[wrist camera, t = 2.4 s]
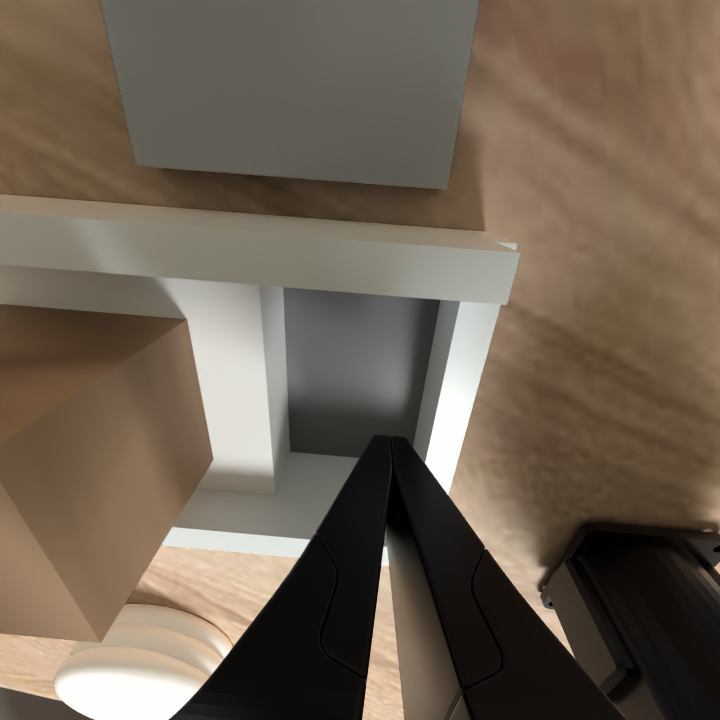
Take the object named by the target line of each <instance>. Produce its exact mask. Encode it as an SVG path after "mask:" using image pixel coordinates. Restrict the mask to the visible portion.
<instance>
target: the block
mask: <svg viewBox="0 0 720 720" xmlns="http://www.w3.org/2000/svg"><path fill="white" fill-rule="evenodd" d="M213 460H214V459H213V453H212V448H211V443H210V437H209V432H208V427H207V422H206V416H205V411H204V406H203V400H202V395H201V390H200V385H199V379H198V374H197V369H196V363H195V358H194V353H193V348H192V342H191V337H190V332H189V326H188V321H187V319H178V318H166V317H154V316H142V315H129V314H117V313H105V312H93V311H81V310H69V309H56V308H44V307H32V306H20V305H8V304H0V633H2V634H12V635H23V636H33V637H44V638H54V639H64V640H75V641H85V642H95V643H101V642H102V640H103V639H104V637H105V636H106V634H107V632H108V631H109V629H110V627H111V626H112V624H113V623H114V621H115V619H116V618H117V616H118V614H119V613H120V611H121V610H122V608H123V606H124V605H125V603H126V601H127V600H128V598H129V597H130V595H131V593H132V592H133V590H134V588H135V587H136V585H137V584H138V582H139V580H140V579H141V577H142V575H143V574H144V572H145V570H146V569H147V567H148V566H149V564H150V562H151V561H152V559H153V557H154V556H155V554H156V553H157V551H158V549H159V548H160V546H161V544H162V543H163V541H164V540H165V538H166V536H167V535H168V533H169V531H170V530H171V528H172V527H173V525H174V523H175V522H176V520H177V518H178V517H179V515H180V514H181V512H182V510H183V509H184V507H185V505H186V504H187V502H188V501H189V499H190V497H191V496H192V494H193V492H194V491H195V489H196V488H197V486H198V484H199V483H200V481H201V479H202V478H203V476H204V475H205V473H206V471H207V470H208V468H209V466H210V465H211V463H212V462H213Z"/></svg>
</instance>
